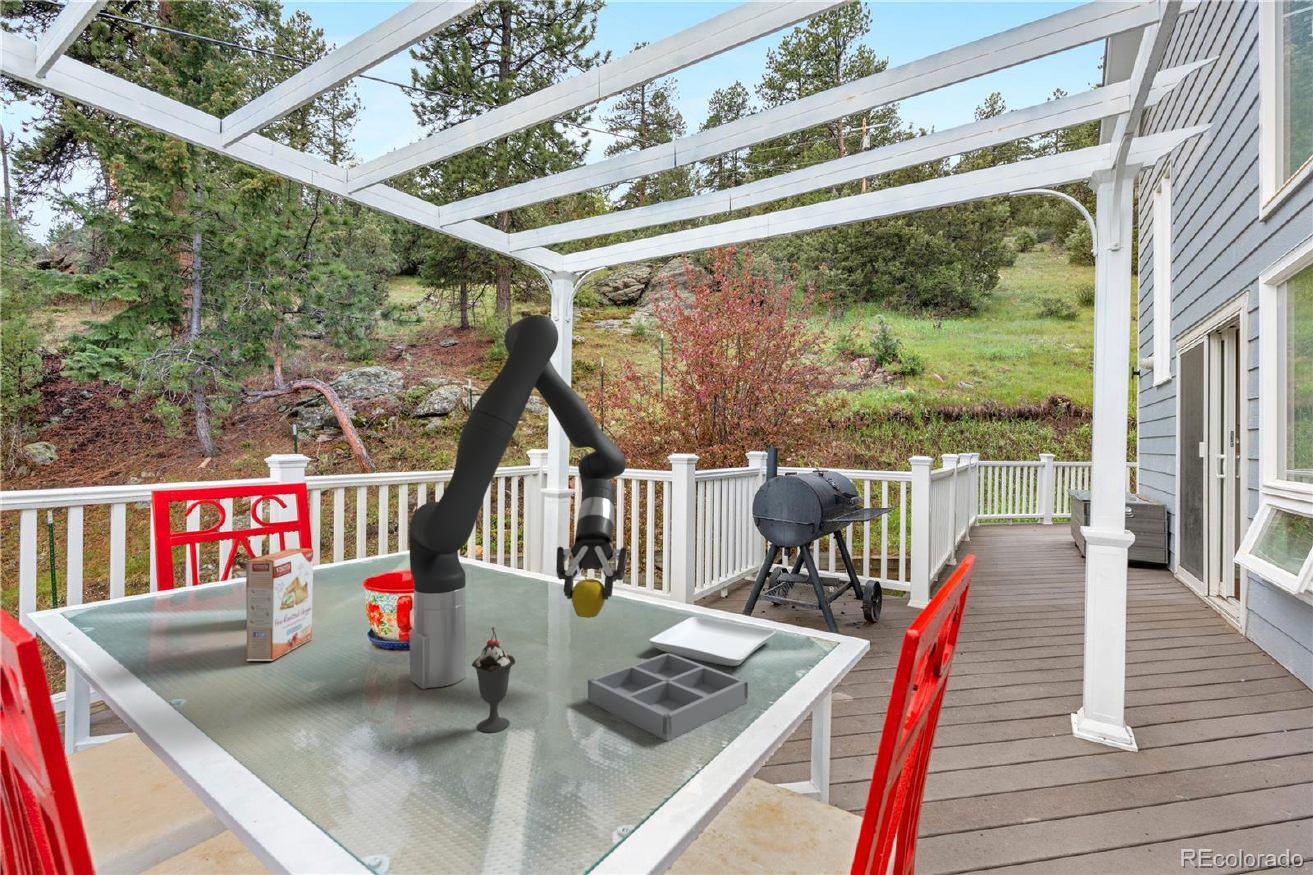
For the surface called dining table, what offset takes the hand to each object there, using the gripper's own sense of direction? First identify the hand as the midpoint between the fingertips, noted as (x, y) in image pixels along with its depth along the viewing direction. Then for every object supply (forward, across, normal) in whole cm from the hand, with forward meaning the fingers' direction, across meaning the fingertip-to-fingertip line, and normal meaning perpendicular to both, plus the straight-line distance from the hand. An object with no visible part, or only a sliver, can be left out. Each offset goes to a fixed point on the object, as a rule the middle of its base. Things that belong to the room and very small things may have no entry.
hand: (587, 597), depth 113 cm
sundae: (+23, -13, 0) cm, 27 cm away
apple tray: (+17, +15, +6) cm, 23 cm away
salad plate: (-2, +25, +25) cm, 36 cm away
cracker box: (+1, -68, +23) cm, 71 cm away
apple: (+2, 0, +4) cm, 5 cm away
